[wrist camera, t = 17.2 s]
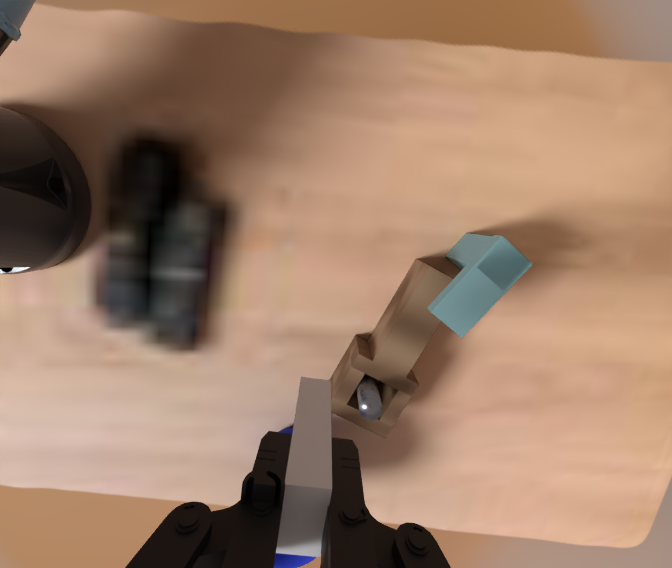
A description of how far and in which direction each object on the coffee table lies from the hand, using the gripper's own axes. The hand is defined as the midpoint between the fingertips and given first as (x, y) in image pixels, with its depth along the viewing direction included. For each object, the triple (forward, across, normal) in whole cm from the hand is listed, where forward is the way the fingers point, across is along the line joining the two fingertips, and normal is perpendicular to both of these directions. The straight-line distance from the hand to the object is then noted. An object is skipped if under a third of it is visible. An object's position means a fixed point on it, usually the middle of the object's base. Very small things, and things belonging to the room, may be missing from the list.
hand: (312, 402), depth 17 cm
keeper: (+17, +13, +5) cm, 22 cm away
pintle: (+17, +6, -6) cm, 19 cm away
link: (+17, +8, -2) cm, 19 cm away
